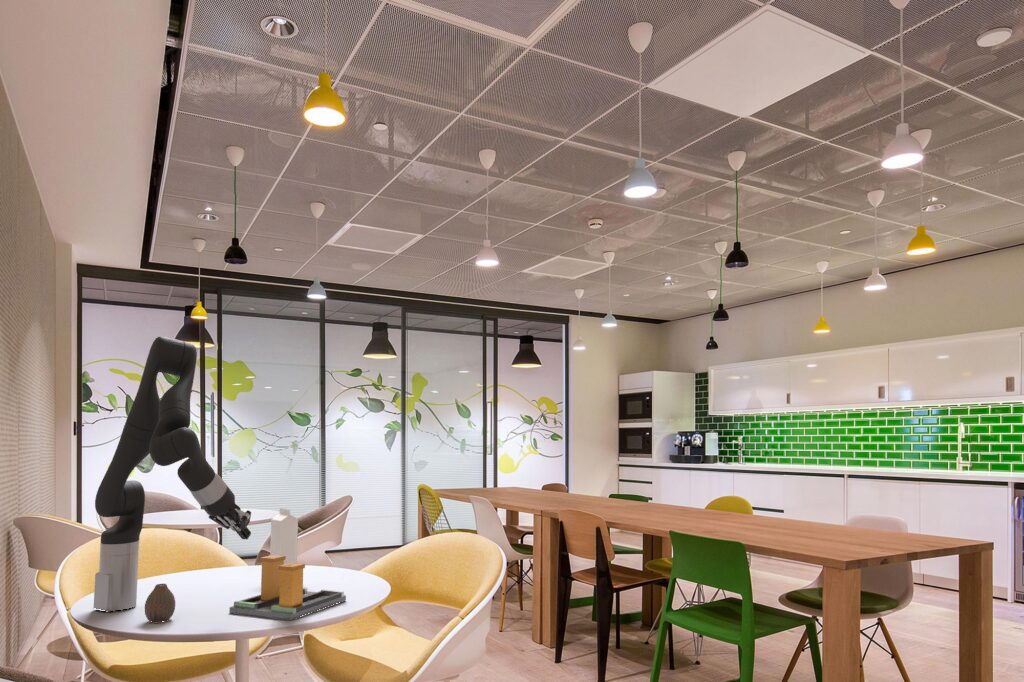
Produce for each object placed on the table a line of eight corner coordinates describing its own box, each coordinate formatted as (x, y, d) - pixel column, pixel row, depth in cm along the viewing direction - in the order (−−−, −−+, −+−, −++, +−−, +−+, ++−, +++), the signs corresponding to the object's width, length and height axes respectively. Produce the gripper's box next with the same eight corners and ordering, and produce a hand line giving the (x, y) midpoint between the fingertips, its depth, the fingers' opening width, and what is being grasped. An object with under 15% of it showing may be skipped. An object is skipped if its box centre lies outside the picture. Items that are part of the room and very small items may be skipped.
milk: (279, 584, 224) (280, 510, 226) (269, 581, 228) (270, 509, 230) (297, 580, 229) (298, 508, 231) (286, 578, 233) (288, 507, 235)
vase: (179, 617, 186) (180, 581, 187) (167, 624, 180) (169, 587, 180) (151, 617, 186) (153, 581, 187) (138, 624, 179) (140, 587, 180)
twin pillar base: (290, 620, 181) (291, 568, 183) (229, 613, 190) (231, 563, 191) (345, 601, 201) (346, 554, 203) (288, 594, 210) (289, 549, 211)
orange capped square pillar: (272, 601, 195) (273, 558, 196) (259, 599, 197) (260, 557, 198) (284, 597, 199) (285, 555, 201) (271, 596, 201) (272, 554, 202)
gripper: (240, 481, 181) (274, 525, 191) (200, 480, 187) (235, 523, 197) (223, 505, 176) (259, 550, 186) (183, 504, 181) (219, 547, 191)
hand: (247, 536), depth 191 cm, fingers closed
